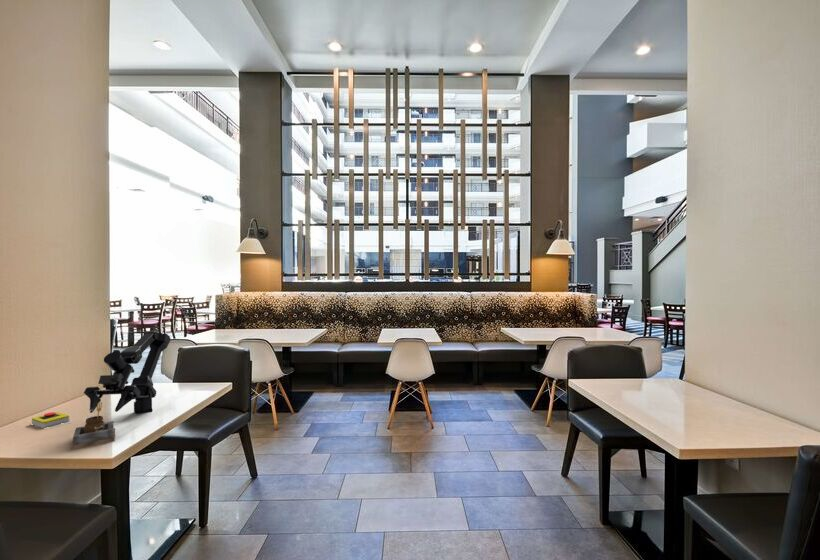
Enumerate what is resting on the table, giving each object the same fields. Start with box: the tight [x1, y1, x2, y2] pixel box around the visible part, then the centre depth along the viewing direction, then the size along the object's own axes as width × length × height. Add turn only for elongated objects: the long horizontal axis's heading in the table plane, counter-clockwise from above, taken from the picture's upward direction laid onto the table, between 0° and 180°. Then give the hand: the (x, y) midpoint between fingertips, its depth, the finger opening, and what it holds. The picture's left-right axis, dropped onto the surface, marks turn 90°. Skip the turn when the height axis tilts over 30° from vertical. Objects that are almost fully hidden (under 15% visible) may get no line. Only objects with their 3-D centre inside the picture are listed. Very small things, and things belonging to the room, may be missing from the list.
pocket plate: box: [70, 420, 116, 450], centre depth 150 cm, size 12×12×4 cm
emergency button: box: [31, 411, 73, 429], centre depth 169 cm, size 9×4×15 cm
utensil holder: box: [84, 401, 105, 434], centre depth 150 cm, size 6×6×12 cm
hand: (103, 411), depth 155 cm, fingers open, 9 cm apart
